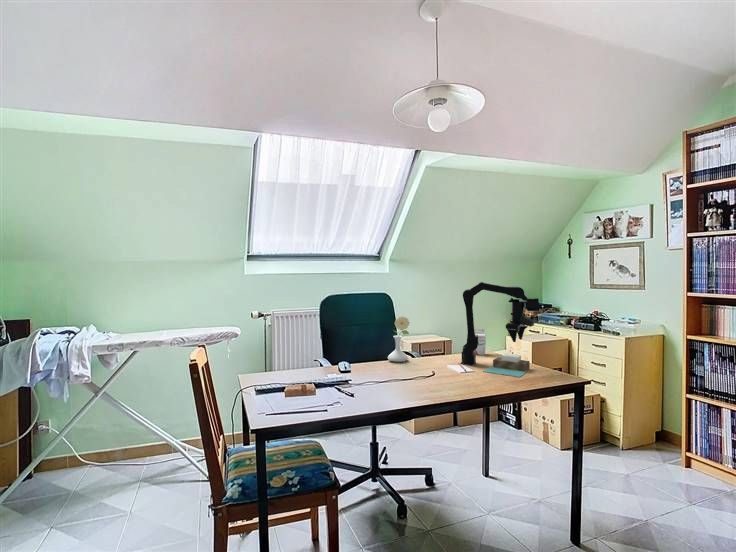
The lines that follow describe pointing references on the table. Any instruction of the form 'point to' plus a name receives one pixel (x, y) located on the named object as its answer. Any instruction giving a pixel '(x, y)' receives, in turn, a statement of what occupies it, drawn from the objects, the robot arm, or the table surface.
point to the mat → (505, 371)
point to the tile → (511, 357)
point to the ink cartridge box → (480, 342)
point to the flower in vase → (397, 353)
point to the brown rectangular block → (511, 364)
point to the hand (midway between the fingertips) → (517, 340)
